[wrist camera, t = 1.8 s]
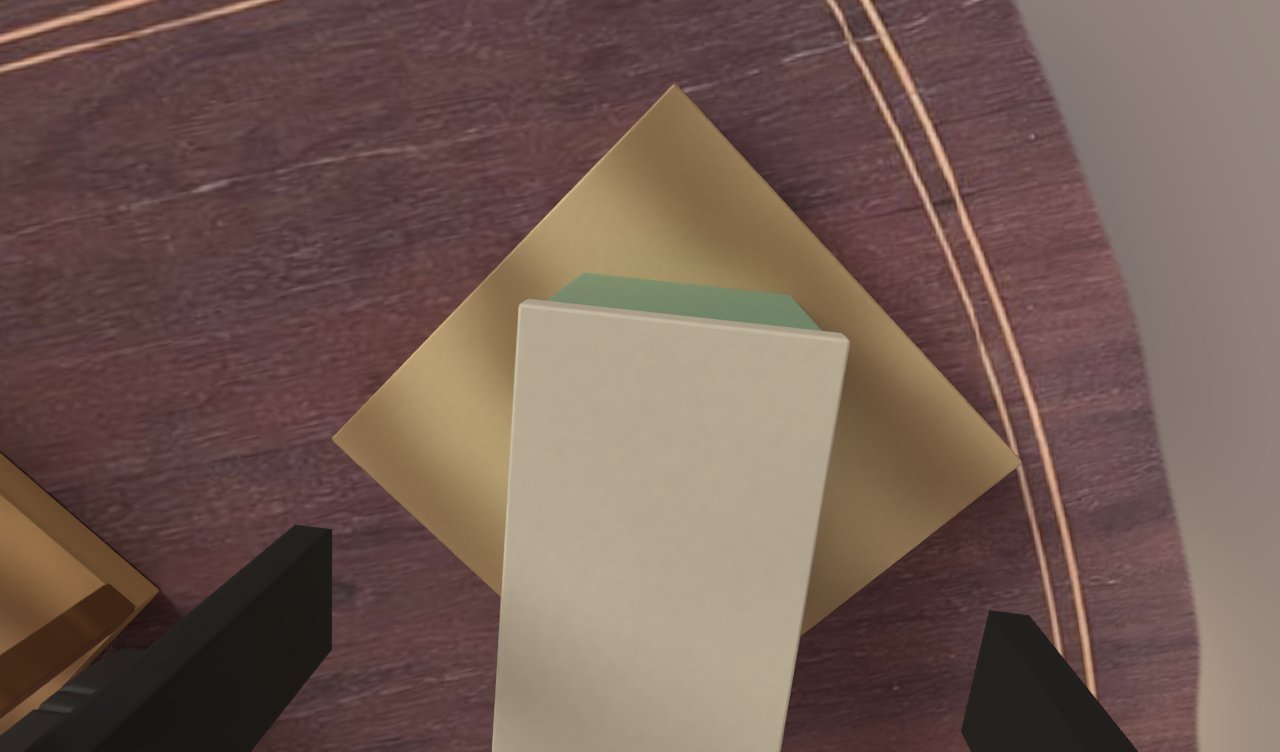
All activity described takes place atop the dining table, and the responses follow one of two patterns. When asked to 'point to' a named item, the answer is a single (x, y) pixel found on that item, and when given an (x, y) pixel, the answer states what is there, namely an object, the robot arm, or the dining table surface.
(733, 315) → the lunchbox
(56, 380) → the dining table surface
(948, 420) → the wooden square board
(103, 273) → the dining table surface
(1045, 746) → the robot arm
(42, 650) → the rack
